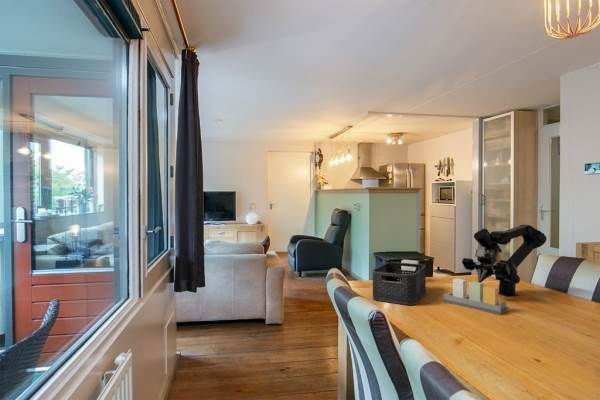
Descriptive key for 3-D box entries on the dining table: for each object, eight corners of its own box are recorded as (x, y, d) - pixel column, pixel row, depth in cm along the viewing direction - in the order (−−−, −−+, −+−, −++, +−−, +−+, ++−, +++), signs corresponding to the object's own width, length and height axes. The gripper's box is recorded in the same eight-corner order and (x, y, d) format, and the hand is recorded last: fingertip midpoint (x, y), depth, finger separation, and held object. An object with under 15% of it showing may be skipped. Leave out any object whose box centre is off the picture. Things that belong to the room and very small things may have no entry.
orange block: (486, 304, 143) (486, 285, 143) (498, 307, 139) (498, 287, 139) (483, 306, 140) (483, 286, 140) (495, 309, 137) (495, 289, 137)
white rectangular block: (456, 296, 155) (456, 278, 155) (466, 298, 152) (466, 280, 152) (452, 297, 153) (452, 279, 153) (463, 299, 150) (462, 281, 149)
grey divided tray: (452, 298, 157) (452, 291, 157) (507, 310, 140) (507, 302, 140) (443, 301, 152) (443, 294, 152) (500, 314, 135) (500, 306, 135)
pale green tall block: (472, 299, 150) (472, 281, 150) (483, 301, 146) (483, 283, 146) (468, 301, 148) (468, 282, 148) (479, 303, 144) (479, 284, 144)
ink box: (419, 282, 187) (419, 260, 187) (417, 284, 183) (417, 261, 183) (403, 280, 191) (403, 259, 191) (401, 282, 187) (401, 260, 187)
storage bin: (388, 286, 180) (388, 260, 180) (427, 291, 170) (426, 264, 170) (370, 300, 155) (370, 271, 155) (414, 307, 145) (414, 275, 145)
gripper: (463, 240, 160) (452, 267, 153) (507, 244, 146) (497, 274, 139) (471, 255, 165) (460, 282, 158) (514, 261, 151) (504, 290, 144)
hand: (479, 281), depth 150 cm, fingers closed
